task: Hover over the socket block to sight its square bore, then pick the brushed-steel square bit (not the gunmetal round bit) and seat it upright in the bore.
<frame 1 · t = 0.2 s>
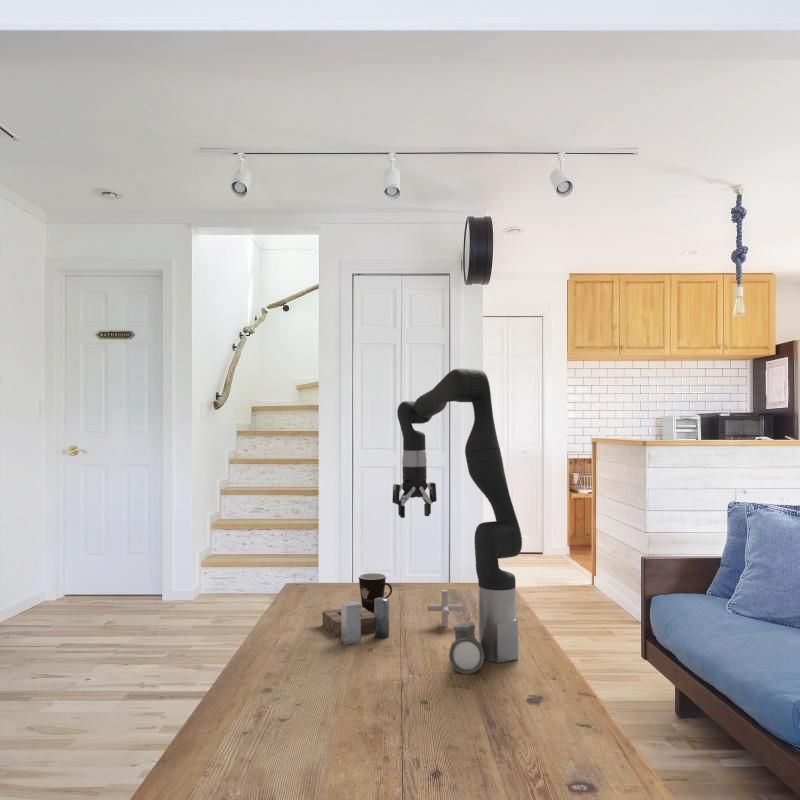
hand: (414, 516, 203), 29 cm above the table, fingers open, 8 cm apart
coffee mug: (374, 610, 203), on the table
pipe fitting: (467, 666, 156), on the table
socket block: (349, 628, 185), on the table
pipe connector: (445, 626, 186), on the table
round bit: (381, 636, 177), on the table
square bit: (350, 641, 174), on the table
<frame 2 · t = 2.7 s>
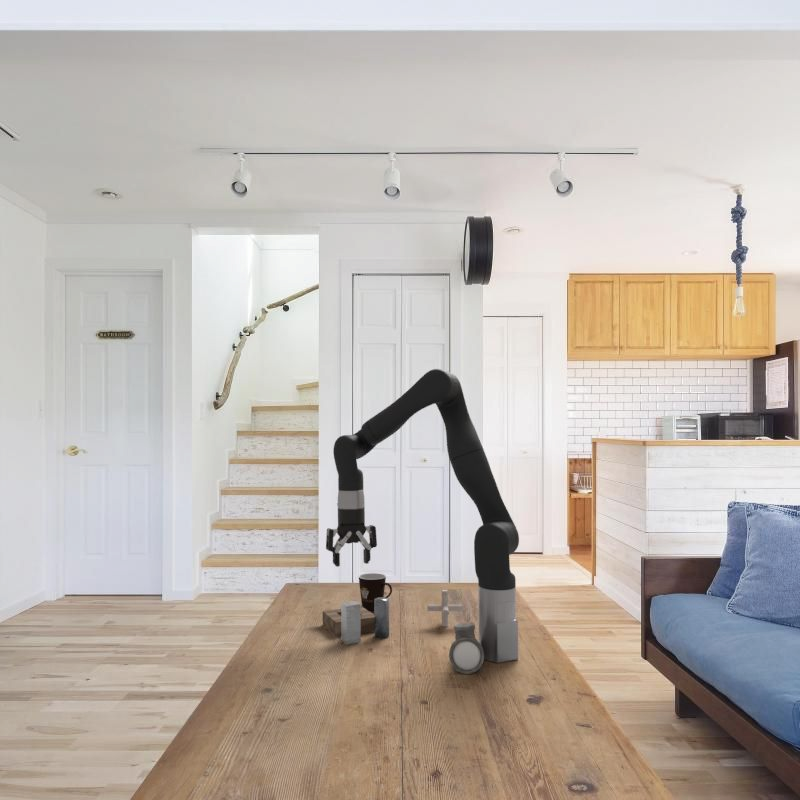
hand: (351, 564, 181), 19 cm above the table, fingers open, 8 cm apart
nothing on the table moved.
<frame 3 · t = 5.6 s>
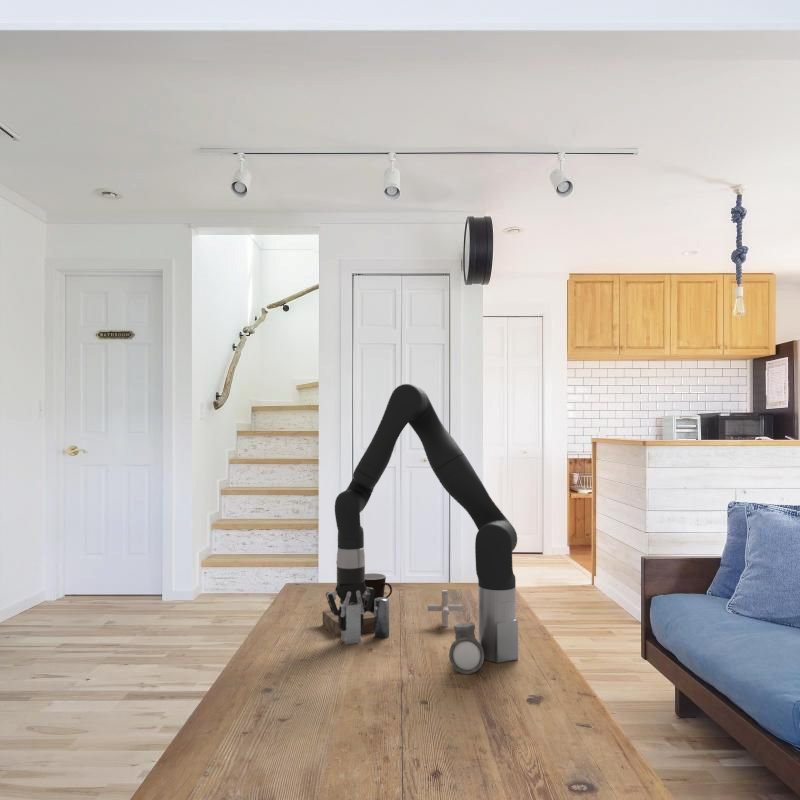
hand: (350, 628, 174), 3 cm above the table, fingers closed on square bit, 4 cm apart
square bit: (350, 641, 174), on the table, touching gripper
everything else where it was.
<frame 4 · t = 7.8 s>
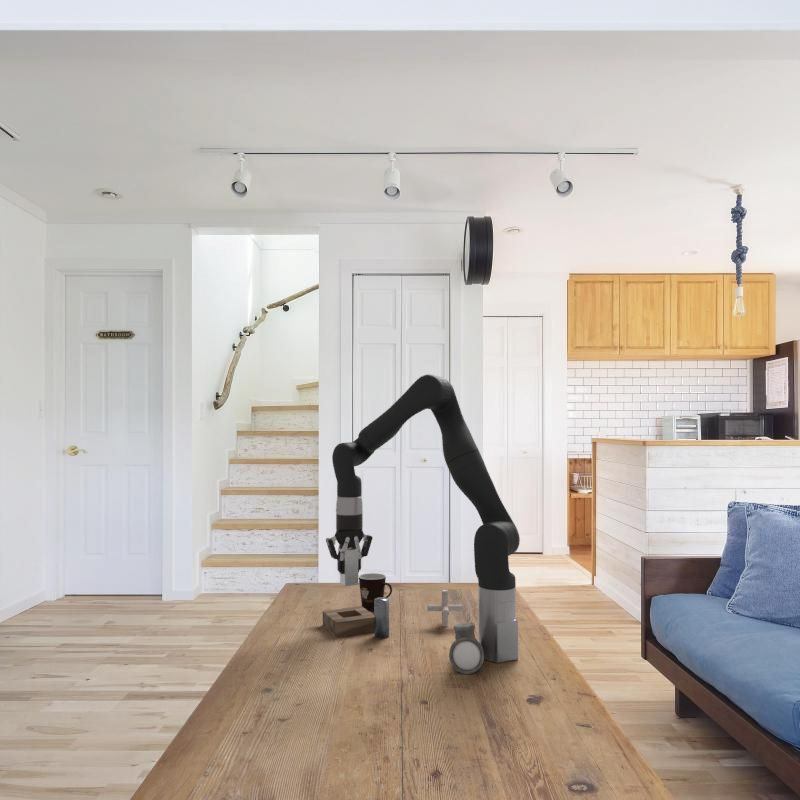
hand: (349, 572, 185), 16 cm above the table, fingers closed on square bit, 4 cm apart
square bit: (349, 583, 185), point 12 cm above the table, touching gripper
everything else where it was.
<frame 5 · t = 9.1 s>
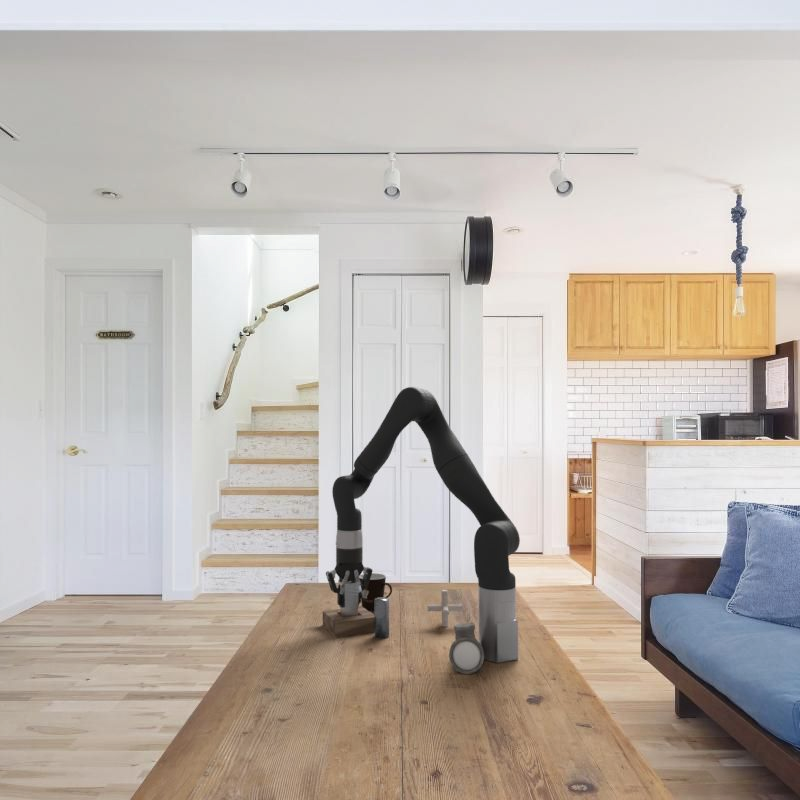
hand: (349, 605, 185), 6 cm above the table, fingers closed on square bit, 4 cm apart
square bit: (349, 617, 185), point 3 cm above the table, touching gripper
everything else where it was.
when the fingers open (5 cm above the table, at t = 10.0 s): square bit drops 2 cm, resting in socket block.
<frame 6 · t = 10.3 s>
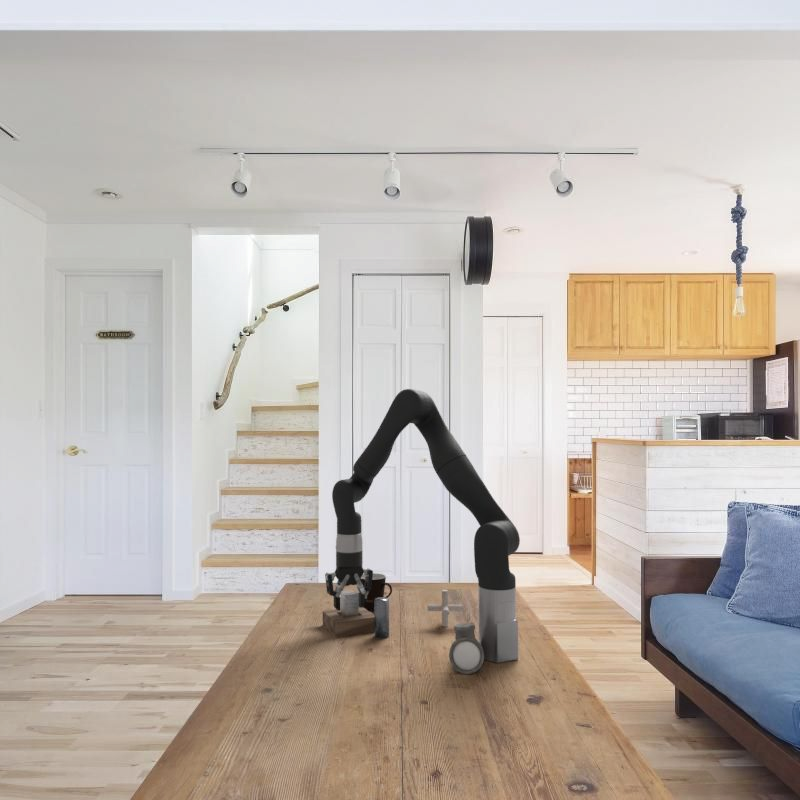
hand: (349, 608, 185), 6 cm above the table, fingers open, 6 cm apart
square bit: (349, 628, 185), resting in socket block
everything else where it was.
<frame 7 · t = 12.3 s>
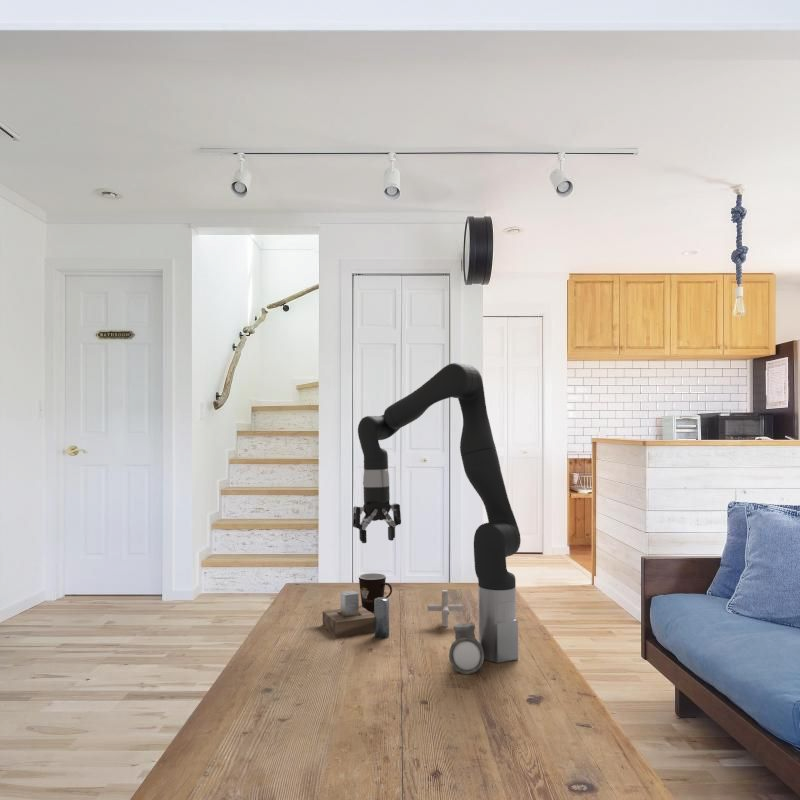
hand: (377, 541, 187), 24 cm above the table, fingers open, 8 cm apart
nothing on the table moved.
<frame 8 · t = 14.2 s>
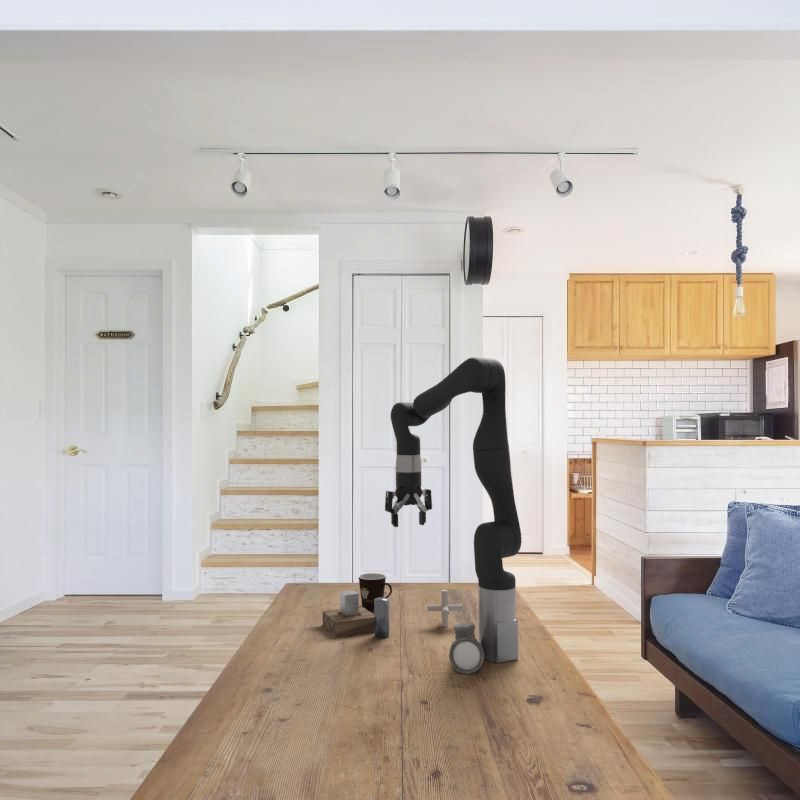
hand: (408, 525, 190), 28 cm above the table, fingers open, 8 cm apart
nothing on the table moved.
at the end: square bit 0.1 cm off-centre on the socket block, point 0.0 cm above the socket block's base; square bit tilted 0°; round bit moved 0.0 cm from its start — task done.
